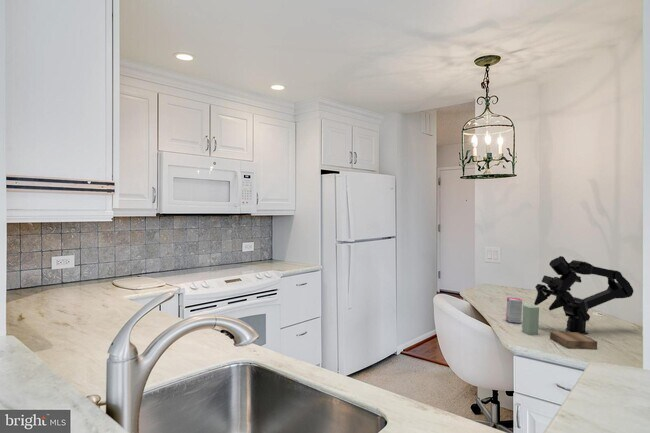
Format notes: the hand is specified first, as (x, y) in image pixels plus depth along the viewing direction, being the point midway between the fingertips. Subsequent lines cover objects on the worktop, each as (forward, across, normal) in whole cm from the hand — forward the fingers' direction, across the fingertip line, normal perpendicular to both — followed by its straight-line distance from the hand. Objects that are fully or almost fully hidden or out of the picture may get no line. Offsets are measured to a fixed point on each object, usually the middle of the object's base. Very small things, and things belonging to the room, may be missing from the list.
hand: (541, 307), depth 180 cm
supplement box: (+9, -18, +7) cm, 21 cm away
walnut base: (+6, +15, +10) cm, 19 cm away
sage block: (+12, 0, +4) cm, 13 cm away
